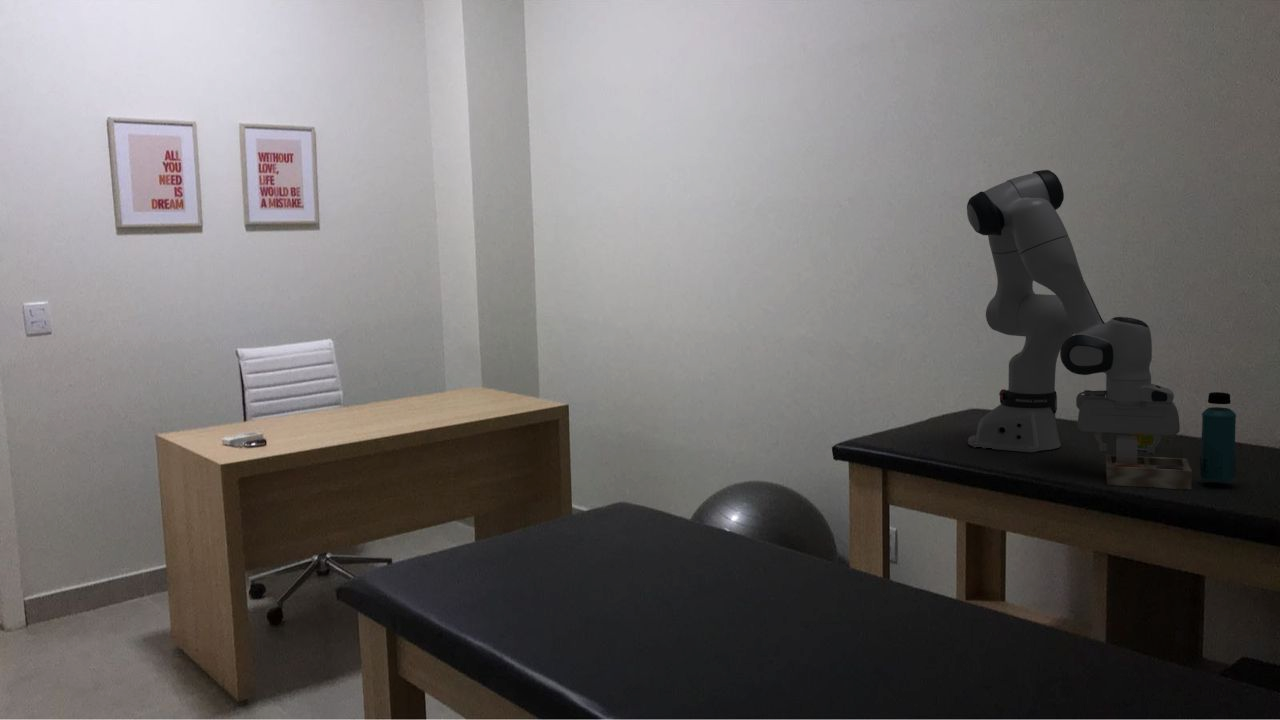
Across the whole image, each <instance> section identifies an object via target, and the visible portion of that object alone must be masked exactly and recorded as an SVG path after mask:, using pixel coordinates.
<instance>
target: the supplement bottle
mask: <svg viewBox="0 0 1280 720" xmlns="http://www.w3.org/2000/svg"><path fill="white" fill-rule="evenodd" d="M1131 436H1133V437H1137V440H1138V444H1137V451H1141V452H1142V451H1143V452H1147V445H1151V444H1152V443H1153V442H1154V438H1153V435H1150V434H1131ZM1156 447H1157V446H1156ZM1156 447H1155V449H1156Z"/></svg>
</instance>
